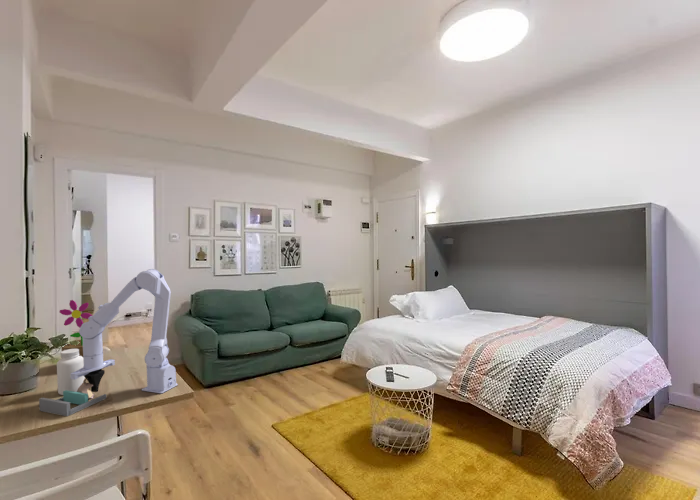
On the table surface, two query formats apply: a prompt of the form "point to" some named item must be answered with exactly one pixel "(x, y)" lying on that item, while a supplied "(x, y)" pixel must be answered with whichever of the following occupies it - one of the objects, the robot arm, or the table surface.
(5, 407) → the table surface
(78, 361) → the pill bottle
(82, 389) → the mouse figurine
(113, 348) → the table surface
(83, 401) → the block
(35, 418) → the table surface
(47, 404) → the tray
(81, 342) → the flowerpot
